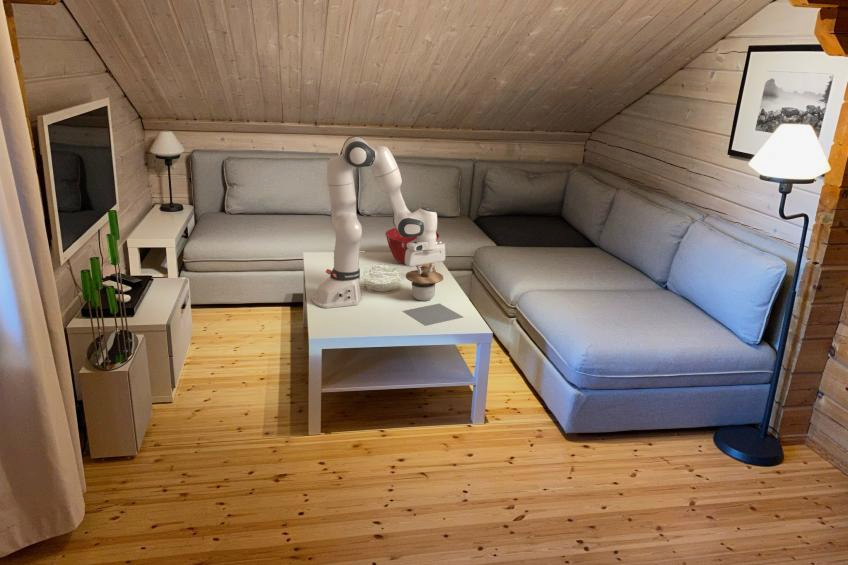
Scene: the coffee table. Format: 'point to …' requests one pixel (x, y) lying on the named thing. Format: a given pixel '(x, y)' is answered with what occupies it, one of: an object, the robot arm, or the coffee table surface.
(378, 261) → the coffee table surface
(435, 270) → the lion figurine
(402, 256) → the mixing bowl
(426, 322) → the mat
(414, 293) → the teacup
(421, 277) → the lid
